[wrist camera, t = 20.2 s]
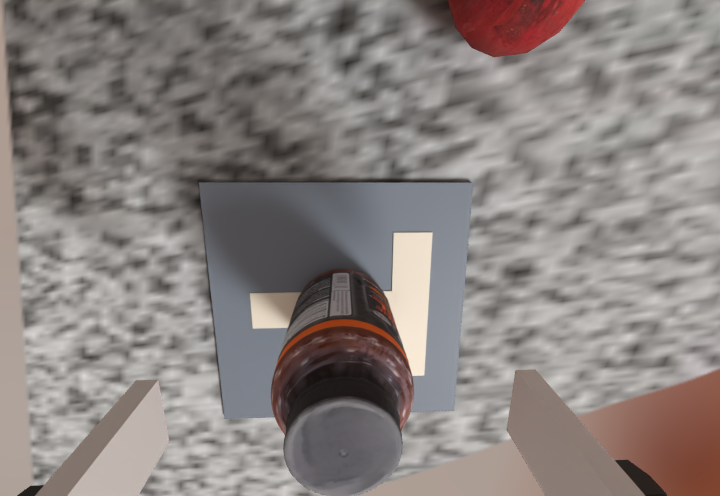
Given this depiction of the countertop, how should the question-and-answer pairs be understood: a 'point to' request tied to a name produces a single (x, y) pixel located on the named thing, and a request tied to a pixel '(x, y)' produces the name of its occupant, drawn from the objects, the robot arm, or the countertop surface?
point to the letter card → (331, 252)
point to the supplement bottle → (342, 386)
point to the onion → (510, 23)
